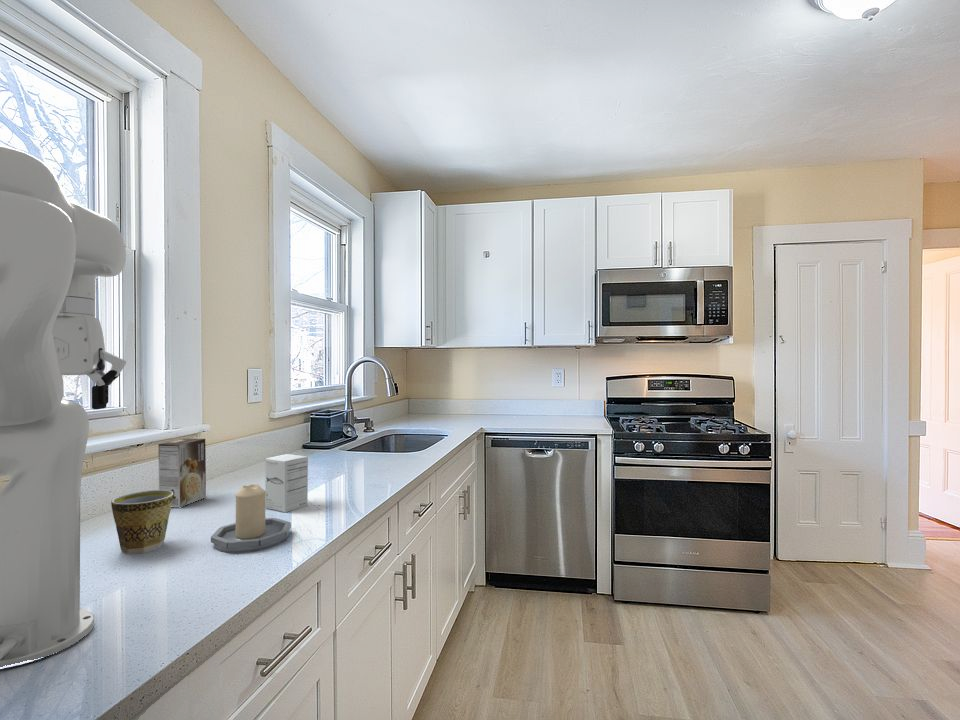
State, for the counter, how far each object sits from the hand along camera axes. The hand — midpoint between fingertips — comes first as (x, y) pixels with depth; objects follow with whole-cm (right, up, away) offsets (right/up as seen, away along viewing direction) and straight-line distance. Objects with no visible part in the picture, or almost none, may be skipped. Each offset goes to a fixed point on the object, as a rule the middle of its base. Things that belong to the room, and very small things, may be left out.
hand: (66, 409), depth 82 cm
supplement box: (+22, -29, +39) cm, 53 cm away
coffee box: (-6, -29, +42) cm, 52 cm away
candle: (+24, -28, +16) cm, 40 cm away
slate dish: (+24, -28, +16) cm, 41 cm away
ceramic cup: (+3, -29, +13) cm, 32 cm away
